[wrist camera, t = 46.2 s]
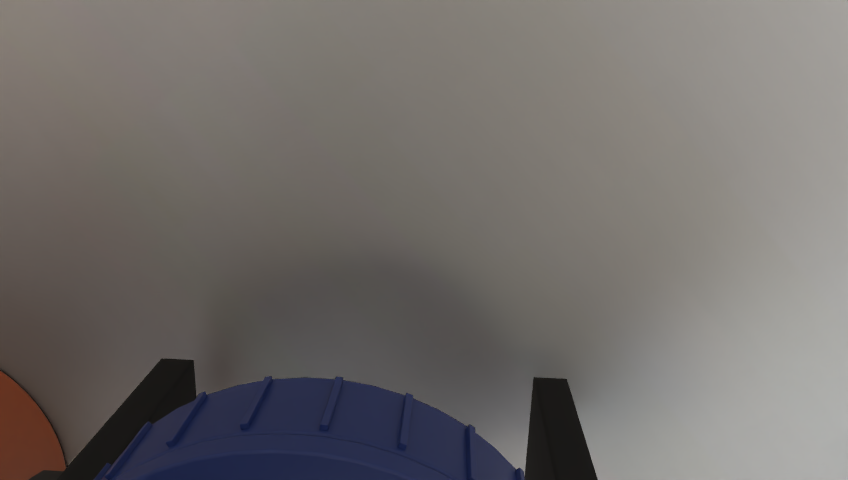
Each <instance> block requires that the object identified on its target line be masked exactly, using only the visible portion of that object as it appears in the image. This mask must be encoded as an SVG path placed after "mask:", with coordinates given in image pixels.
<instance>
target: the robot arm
mask: <svg viewBox="0 0 848 480" xmlns="http://www.w3.org/2000/svg"><path fill="white" fill-rule="evenodd" d="M195 399H196V386H195V373H194V360H179V359H161V360H160V361H159V362H158V363H157V365H156V366H155V367H154V368H153V369H152V370H151V372H150V373H149V374H148V375H147V376H146V377H145V378H144V380H143V381H142V382H141V383H140V384H139V385H138V386H137V388H136V389H135V390H134V391H133V392H132V393H131V395H130V396H129V397H128V398H127V399H126V400H125V401H124V403H123V404H122V405H121V406H120V407H119V408H118V410H117V411H116V412H115V413H114V414H113V415H112V416H111V418H110V419H109V420H108V421H107V422H106V423H105V424H104V426H103V427H102V428H101V429H100V430H99V431H98V433H97V434H96V435H95V436H94V437H93V438H92V439H91V441H90V442H89V443H88V444H87V445H86V446H85V448H84V449H83V450H82V451H81V452H80V453H79V454H78V456H77V457H76V458H75V459H74V460H73V461H72V462H71V464H70V465H69V466H68V467H67V468H66V469H65V471H51V470H43V471H41V472H40V473H38V474H36V475H35V476H33V477H32V478H30V479H28V480H94V479H95V477H96V476H97V475H98V474H99V472H100V471H101V470H102V469H103V467H104V466H105V465H106V463H109V464H111V465H112V464H113V463H114V462H115V461H116V460H117V458H118V457H119V456H120V455H121V454H122V453H123V451H124V450H125V449H126V448H127V446H128V445H129V444H130V442H131V441H132V440H133V439H134V437H135V436H136V435H137V433H138V432H139V431H140V429H141V428H142V427H143V426H144V424H146V423H147V422H150V423H151V424H154V423H155V422H157V421H158V420H160V419H161V418H163V417H164V416H166V415H168V414H169V413H171V412H172V411H174V410H175V409H177V408H179V407H181V406H183V405H186V404H188V403H190V402H192V401H194V400H195ZM525 480H598V479H597V476H596V473H595V470H594V466H593V463H592V460H591V457H590V453H589V450H588V447H587V444H586V440H585V437H584V434H583V431H582V427H581V424H580V421H579V418H578V414H577V411H576V408H575V405H574V401H573V398H572V395H571V392H570V388H569V385H568V382H567V379H556V378H536V377H534V379H533V391H532V402H531V413H530V424H529V435H528V446H527V457H526V469H525Z"/></svg>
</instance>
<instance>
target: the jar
mask: <svg viewBox="0 0 848 480" xmlns="http://www.w3.org/2000/svg"><path fill="white" fill-rule="evenodd" d="M65 469H66V464H65V460H64V455H63V451H62V449H61V446H60V443H59V441H58V438H57V436H56V434H55V432H54V430H53V428H52V426H51V424H50V422H49V421H48V419H47V418H46V416H45V415H44V413H43V412H42V410H41V409H40V407H39V406H38V405H37V404H36V403H35V402H34V400H33V399H32V398H31V397H30V396H29V395H28V393H27V392H26V391H25V390H23V389H22V388H21V387H20V386H19V385H18V384H17V383H16V382H15V381H14V380H13V379H11V378H10V377H9V376H7V375H6V374H5V373H3V372H2V371H1V370H0V480H28V479H30V478H32V477H33V476H35V475H36V474H38V473H40V472H41V471H43V470H51V471H65Z"/></svg>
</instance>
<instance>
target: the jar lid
mask: <svg viewBox="0 0 848 480" xmlns="http://www.w3.org/2000/svg"><path fill="white" fill-rule="evenodd" d="M94 480H525V477H524V472H523V471H522V469H521V468H518V469H517V470H516V469H515V468H514V467H513V466H512V465H511V464H510V463H509V462H508V461H507V460H506V459H505V458H504V457H503V456H502V455H501V454H500V453H499V452H498V451H497V450H496V449H495V448H494V447H493V446H492V445H491V444H489V443H488V442H487V441H485V440H484V439H483V438H482V437H480V436H479V435H478V434H476V433H475V428H474V427H473V426H471V425H470V424H469V425H468V427H467V426H465V425H464V424H462V423H460V422H459V421H457V420H456V419H454V418H452V417H450V416H449V415H447V414H445V413H444V412H442V411H440V410H438V409H436V408H434V407H431V406H429V405H427V404H425V403H422V402H420V401H418V400H415V399H413V395H411V394H408V393H406V395H402V394H399V393H396V392H393V391H389V390H386V389H383V388H380V387H376V386H372V385H367V384H361V383H356V382H350V381H345V380H343V377H336V378H335V379H322V378H307V377H304V378H285V379H272V376H268V377H265V378H264V380H263V381H257V382H252V383H247V384H242V385H237V386H234V387H231V388H227V389H224V390H221V391H218V392H214V393H211V394H208V395H207V394H206V392H202V393H199V394H198V396H197V397H196V399H195V400H194V401H192V402H190V403H188V404H186V405H183V406H181V407H179V408H177V409H175V410H174V411H172V412H171V413H169V414H168V415H166V416H164V417H163V418H161V419H160V420H158V421H157V422H155V423H154V424H151V423H150V422H147V423H146V424H144V426H143V427H142V428H141V429H140V431H139V432H138V433H137V435H136V436H135V437H134V439H133V440H132V441H131V442H130V444H129V445H128V446H127V448H126V449H125V450H124V451H123V453H122V454H121V455H120V456H119V457H118V458H117V460H116V461H115V462H114V463H113V464H112V465H111V464H109V463H106V465H105V466H104V467H103V469H102V470H101V471H100V472H99V474H98V475H97V476H96V477H95V479H94Z"/></svg>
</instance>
